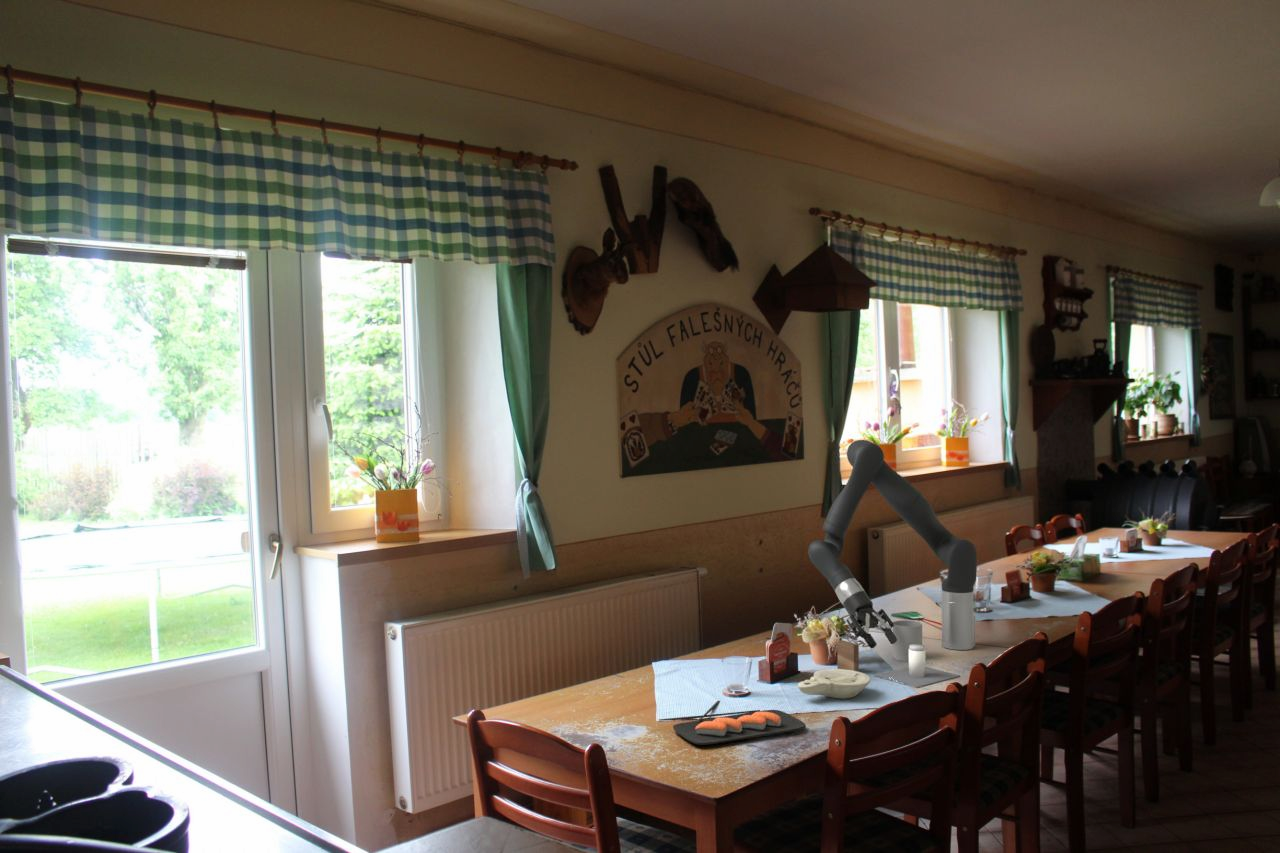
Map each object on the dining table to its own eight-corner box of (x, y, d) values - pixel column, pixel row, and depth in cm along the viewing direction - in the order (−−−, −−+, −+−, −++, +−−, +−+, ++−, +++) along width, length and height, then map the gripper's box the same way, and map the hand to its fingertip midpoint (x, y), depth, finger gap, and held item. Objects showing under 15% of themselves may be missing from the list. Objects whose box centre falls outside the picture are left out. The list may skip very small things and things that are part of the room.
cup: (923, 661, 285) (923, 627, 284) (893, 660, 286) (893, 626, 286) (920, 654, 293) (920, 620, 293) (892, 653, 294) (892, 619, 294)
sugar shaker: (915, 672, 272) (915, 643, 272) (928, 675, 269) (928, 646, 269) (905, 674, 270) (905, 645, 270) (918, 678, 266) (918, 648, 266)
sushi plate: (696, 753, 213) (696, 735, 213) (640, 713, 240) (640, 698, 240) (811, 734, 224) (811, 717, 224) (745, 698, 252) (745, 683, 252)
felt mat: (918, 665, 280) (918, 664, 280) (960, 676, 269) (960, 675, 269) (875, 676, 270) (875, 675, 270) (916, 688, 258) (916, 686, 258)
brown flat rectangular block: (842, 668, 278) (842, 640, 278) (858, 673, 273) (858, 644, 273) (837, 669, 277) (837, 641, 277) (853, 674, 272) (853, 645, 272)
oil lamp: (820, 711, 240) (819, 690, 240) (781, 696, 252) (781, 677, 252) (882, 697, 251) (882, 677, 251) (842, 683, 263) (842, 665, 263)
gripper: (843, 592, 281) (874, 640, 272) (877, 587, 289) (908, 633, 280) (829, 608, 285) (860, 656, 276) (863, 602, 294) (893, 648, 285)
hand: (884, 644), depth 278 cm, fingers open, 8 cm apart
